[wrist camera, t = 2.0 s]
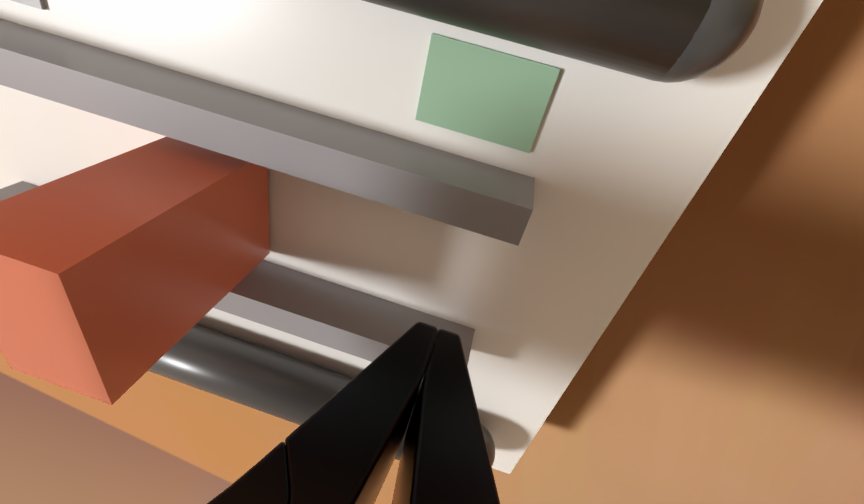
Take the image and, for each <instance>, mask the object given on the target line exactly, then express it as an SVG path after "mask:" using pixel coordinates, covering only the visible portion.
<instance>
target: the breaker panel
mask: <svg viewBox="0 0 864 504" xmlns="http://www.w3.org/2000/svg"><path fill="white" fill-rule="evenodd" d="M822 2H823V0H0V201H2V200H5V199H7V198H10V197H12V196H15V195H17V194H20V193H23V192H25V191H28V190H30V189H33V188H35V187H38V186H41V185H43V184H46V183H48V182H51V181H53V180H56V179H58V178H61V177H64V176H66V175H69V174H71V173H74V172H76V171H79V170H82V169H84V168H87V167H89V166H92V165H94V164H97V163H100V162H102V161H105V160H107V159H110V158H112V157H115V156H118V155H120V154H123V153H125V152H128V151H130V150H133V149H136V148H138V147H141V146H143V145H146V144H148V143H151V142H153V141H156V140H159V139H161V138H164V137H166V136H167V137H170V138H173V139H176V140H180V141H183V142H186V143H189V144H192V145H196V146H199V147H202V148H205V149H208V150H212V151H215V152H218V153H221V154H225V155H228V156H231V157H234V158H237V159H241V160H244V161H247V162H250V163H253V164H257V165H260V166H263V167H266V168H268V194H269V241H270V253H269V254H268V255H267V256H266V257H265V258H264V259H263V260H262V261H261V262H260V263H259V264H258V265H257V266H256V267H255V268H254V269H253V270H252V271H251V272H250V273H249V274H248V275H247V276H246V277H245V278H243V279H242V280H241V281H240V282H239V283H238V284H237V285H236V286H235V287H234V288H233V289H232V290H231V291H230V292H229V293H228V294H227V295H226V296H225V297H224V298H223V299H222V300H221V301H220V302H218V303H217V304H216V305H215V306H214V307H213V308H212V309H211V310H210V311H209V312H208V313H207V314H206V315H205V316H204V317H203V318H202V319H201V320H200V321H199V322H198V323H197V324H196V325H195V326H194V327H192V328H191V329H190V330H189V331H188V332H187V333H186V334H185V335H184V336H183V337H182V338H181V339H180V340H179V341H178V342H177V343H176V344H175V345H174V346H173V347H172V348H171V349H170V350H169V351H168V352H166V353H165V354H164V355H163V356H162V357H161V358H160V359H159V360H158V361H157V362H156V363H155V364H154V365H153V366H152V367H151V368H150V369H149V370H148V371H150V372H153V373H155V374H158V375H161V376H164V377H167V378H170V379H172V380H175V381H178V382H181V383H184V384H186V385H189V386H192V387H195V388H198V389H200V390H203V391H206V392H209V393H212V394H214V395H217V396H220V397H223V398H226V399H229V400H231V401H234V402H237V403H240V404H243V405H245V406H248V407H251V408H254V409H257V410H259V411H262V412H265V413H268V414H271V415H273V416H276V417H279V418H282V419H285V420H288V421H290V422H293V423H296V424H299V425H301V424H303V423H304V422H305V421H306V420H307V419H308V418H309V417H310V416H312V415H313V414H314V413H315V412H316V411H317V410H318V409H319V408H321V407H322V406H323V405H324V404H325V403H326V402H327V401H328V400H330V399H331V398H332V397H333V396H334V395H335V394H336V393H338V392H339V391H340V390H341V389H342V388H343V387H344V386H345V385H347V384H348V383H349V382H350V381H351V380H352V379H353V378H354V377H356V376H357V375H358V374H359V373H360V372H361V371H362V370H363V369H365V368H366V367H367V366H368V365H369V364H370V363H371V362H372V361H374V360H375V359H376V358H377V357H378V356H379V355H380V354H381V353H383V352H384V351H385V350H386V349H387V348H388V347H389V346H390V345H392V344H393V343H394V342H395V341H396V340H397V339H398V338H399V337H401V336H402V335H403V334H404V333H405V332H406V331H407V330H408V329H410V328H411V327H412V326H413V325H414V324H415V323H417V322H419V321H421V322H424V323H427V324H430V325H433V326H436V327H437V328H438V330H439V329H441V328H442V329H446V330H449V331H452V332H455V333H457V334H459V336H460V338H461V342H462V346H463V350H464V355H465V359H466V363H467V367H468V371H469V375H470V380H471V384H472V388H473V392H474V396H475V401H476V405H477V409H478V413H479V417H480V421H481V426H482V430H483V434H484V438H485V442H486V446H487V451H488V455H489V459H490V463H491V467H492V468H493V469H496V470H499V471H502V472H505V473H508V474H510V473H511V471H512V470H513V468H514V467H515V465H516V464H517V462H518V461H519V459H520V458H521V456H522V455H523V453H524V452H525V450H526V449H527V447H528V446H529V444H530V443H531V441H532V440H533V438H534V436H535V435H536V433H537V432H538V430H539V429H540V427H541V426H542V424H543V423H544V421H545V420H546V418H547V417H548V415H549V414H550V412H551V411H552V409H553V408H554V406H555V405H556V403H557V402H558V400H559V399H560V397H561V396H562V394H563V393H564V391H565V390H566V388H567V387H568V385H569V384H570V382H571V381H572V379H573V378H574V376H575V375H576V373H577V372H578V370H579V369H580V367H581V366H582V364H583V363H584V361H585V360H586V358H587V356H588V355H589V353H590V352H591V350H592V349H593V347H594V346H595V344H596V343H597V341H598V340H599V338H600V337H601V335H602V334H603V332H604V331H605V329H606V328H607V326H608V325H609V323H610V322H611V320H612V319H613V317H614V316H615V314H616V313H617V311H618V310H619V308H620V307H621V305H622V304H623V302H624V301H625V299H626V298H627V296H628V295H629V293H630V292H631V290H632V289H633V287H634V286H635V284H636V283H637V281H638V280H639V278H640V276H641V275H642V273H643V272H644V270H645V269H646V267H647V266H648V264H649V263H650V261H651V260H652V258H653V257H654V255H655V254H656V252H657V251H658V249H659V248H660V246H661V245H662V243H663V242H664V240H665V239H666V237H667V236H668V234H669V233H670V231H671V230H672V228H673V227H674V225H675V224H676V222H677V221H678V219H679V218H680V216H681V215H682V213H683V212H684V210H685V209H686V207H687V206H688V204H689V203H690V201H691V200H692V198H693V196H694V195H695V193H696V192H697V190H698V189H699V187H700V186H701V184H702V183H703V181H704V180H705V178H706V177H707V175H708V174H709V172H710V171H711V169H712V168H713V166H714V165H715V163H716V162H717V160H718V159H719V157H720V156H721V154H722V153H723V151H724V150H725V148H726V147H727V145H728V144H729V142H730V141H731V139H732V138H733V136H734V135H735V133H736V132H737V130H738V129H739V127H740V126H741V124H742V123H743V121H744V119H745V118H746V116H747V115H748V113H749V112H750V110H751V109H752V107H753V106H754V104H755V103H756V101H757V100H758V98H759V97H760V95H761V94H762V92H763V91H764V89H765V88H766V86H767V85H768V83H769V82H770V80H771V79H772V77H773V76H774V74H775V73H776V71H777V70H778V68H779V67H780V65H781V64H782V62H783V61H784V59H785V58H786V56H787V55H788V53H789V52H790V50H791V49H792V47H793V46H794V44H795V43H796V41H797V39H798V38H799V36H800V35H801V33H802V32H803V30H804V29H805V27H806V26H807V24H808V23H809V21H810V20H811V18H812V17H813V15H814V14H815V12H816V11H817V9H818V8H819V6H820V5H821V3H822ZM436 336H437V335H436ZM435 339H436V338H435ZM434 342H435V341H434ZM433 345H434V344H433ZM429 358H430V357H429ZM428 361H429V360H428ZM423 377H424V376H423ZM422 380H423V379H422ZM417 396H418V395H417ZM416 399H417V398H416ZM415 402H416V401H415ZM414 405H415V404H414ZM411 415H412V414H411ZM410 418H411V417H410ZM409 421H410V420H409ZM408 424H409V423H408ZM407 428H408V426H407ZM406 431H407V429H406ZM405 435H406V432H405ZM405 435H404V438H405ZM404 438H403V440H402V443H401V445H400V447H399V450H398V452H397V454H396V456H395V459H397V460H400V458H401V452H402V448H403V443H404Z"/></svg>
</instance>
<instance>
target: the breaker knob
mask: <svg viewBox="0 0 864 504" xmlns="http://www.w3.org/2000/svg"><path fill="white" fill-rule="evenodd" d="M269 253H270V241H269V194H268V168H266V167H263V166H260V165H257V164H253V163H250V162H247V161H244V160H241V159H237V158H234V157H231V156H228V155H225V154H221V153H218V152H215V151H212V150H208V149H205V148H202V147H199V146H196V145H192V144H189V143H186V142H183V141H180V140H176V139H173V138H170V137H167V136H166V137H164V138H161V139H159V140H156V141H153V142H151V143H148V144H146V145H143V146H141V147H138V148H136V149H133V150H130V151H128V152H125V153H123V154H120V155H118V156H115V157H112V158H110V159H107V160H105V161H102V162H100V163H97V164H94V165H92V166H89V167H87V168H84V169H82V170H79V171H76V172H74V173H71V174H69V175H66V176H64V177H61V178H58V179H56V180H53V181H51V182H48V183H46V184H43V185H41V186H38V187H35V188H33V189H30V190H28V191H25V192H23V193H20V194H17V195H15V196H12V197H10V198H7V199H5V200H2V201H0V350H1V352H2V354H3V355H4V357H5V359H6V360H7V362H8V364H9V365H10V367H11V368H12V369H15V370H17V371H20V372H23V373H26V374H28V375H31V376H34V377H37V378H39V379H42V380H45V381H48V382H50V383H53V384H56V385H59V386H61V387H64V388H67V389H70V390H72V391H75V392H78V393H81V394H83V395H86V396H89V397H91V398H94V399H97V400H100V401H102V402H105V403H108V404H111V405H112V404H113V403H114V402H115V401H117V400H118V399H119V398H120V397H121V396H122V395H123V394H124V393H125V392H126V391H127V390H128V389H129V388H130V387H131V386H132V385H133V384H134V383H135V382H136V381H137V380H138V379H139V378H140V377H141V376H143V375H144V374H145V373H146V372H147V371H148V370H149V369H150V368H151V367H152V366H153V365H154V364H155V363H156V362H157V361H158V360H159V359H160V358H161V357H162V356H163V355H164V354H165V353H166V352H168V351H169V350H170V349H171V348H172V347H173V346H174V345H175V344H176V343H177V342H178V341H179V340H180V339H181V338H182V337H183V336H184V335H185V334H186V333H187V332H188V331H189V330H190V329H191V328H192V327H194V326H195V325H196V324H197V323H198V322H199V321H200V320H201V319H202V318H203V317H204V316H205V315H206V314H207V313H208V312H209V311H210V310H211V309H212V308H213V307H214V306H215V305H216V304H217V303H218V302H220V301H221V300H222V299H223V298H224V297H225V296H226V295H227V294H228V293H229V292H230V291H231V290H232V289H233V288H234V287H235V286H236V285H237V284H238V283H239V282H240V281H241V280H242V279H243V278H245V277H246V276H247V275H248V274H249V273H250V272H251V271H252V270H253V269H254V268H255V267H256V266H257V265H258V264H259V263H260V262H261V261H262V260H263V259H264V258H265V257H266V256H267V255H268V254H269Z"/></svg>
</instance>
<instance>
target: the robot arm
mask: <svg viewBox="0 0 864 504" xmlns="http://www.w3.org/2000/svg"><path fill="white" fill-rule="evenodd" d="M436 335H437V336H436ZM435 338H436V339H435ZM434 341H435V342H434ZM433 344H434V345H433ZM429 357H430V358H429ZM428 360H429V361H428ZM423 376H424V377H423ZM422 379H423V380H422ZM417 395H418V396H417ZM416 398H417V399H416ZM415 401H416V402H415ZM414 404H415V405H414ZM411 414H412V415H411ZM410 417H411V418H410ZM409 420H410V421H409ZM408 423H409V424H408ZM407 426H408V428H407ZM406 429H407V431H406ZM405 432H406V435H405ZM404 435H405V438H404ZM403 438H404V443H403V448H402V452H401V458H400V463H399V468H398V474H397V479H396V484H395V489H394V495H393V500H392V504H500V501H499V497H498V492H497V488H496V484H495V480H494V476H493V472H492V467H491V463H490V459H489V455H488V451H487V446H486V442H485V438H484V434H483V430H482V426H481V421H480V417H479V413H478V409H477V405H476V401H475V396H474V392H473V388H472V384H471V380H470V375H469V371H468V367H467V363H466V359H465V355H464V350H463V346H462V342H461V338H460V336H459V334H457V333H455V332H452V331H449V330H446V329H442V328H441V329H439V330H438V328H437V327H436V326H433V325H430V324H427V323H424V322H421V321H419V322H417V323H415V324H414V325H413V326H412V327H411V328H410V329H408V330H407V331H406V332H405V333H404V334H403V335H402V336H401V337H399V338H398V339H397V340H396V341H395V342H394V343H393V344H392V345H390V346H389V347H388V348H387V349H386V350H385V351H384V352H383V353H381V354H380V355H379V356H378V357H377V358H376V359H375V360H374V361H372V362H371V363H370V364H369V365H368V366H367V367H366V368H365V369H363V370H362V371H361V372H360V373H359V374H358V375H357V376H356V377H354V378H353V379H352V380H351V381H350V382H349V383H348V384H347V385H345V386H344V387H343V388H342V389H341V390H340V391H339V392H338V393H336V394H335V395H334V396H333V397H332V398H331V399H330V400H328V401H327V402H326V403H325V404H324V405H323V406H322V407H321V408H319V409H318V410H317V411H316V412H315V413H314V414H313V415H312V416H310V417H309V418H308V419H307V420H306V421H305V422H304V423H303V424H301V425H300V426H299V427H298V428H297V429H296V430H295V431H294V432H292V433H291V434H290V435H289V436H288V437H287V438H286V439H285V443H284V442H281V443H280V444H279V445H277V446H276V447H275V448H274V449H273V450H272V451H271V452H270V453H268V454H267V455H266V456H265V457H264V458H263V459H262V460H261V461H259V462H258V463H257V464H256V465H255V466H253V467H252V468H251V469H250V470H249V471H247V472H246V473H245V474H244V475H243V476H241V477H240V478H239V479H238V480H237V481H235V482H234V483H233V484H232V485H231V486H230V487H228V488H227V489H226V490H224V491H223V492H222V493H220V494H219V495H218V496H216V497H215V498H214V499H213V500H212V501H210V502H209V503H207V504H374V503H375V501H376V498H377V496H378V494H379V492H380V489H381V487H382V485H383V483H384V481H385V478H386V476H387V474H388V472H389V470H390V467H391V465H392V463H393V461H394V459H395V456H396V454H397V452H398V450H399V447H400V445H401V443H402V440H403Z"/></svg>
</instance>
